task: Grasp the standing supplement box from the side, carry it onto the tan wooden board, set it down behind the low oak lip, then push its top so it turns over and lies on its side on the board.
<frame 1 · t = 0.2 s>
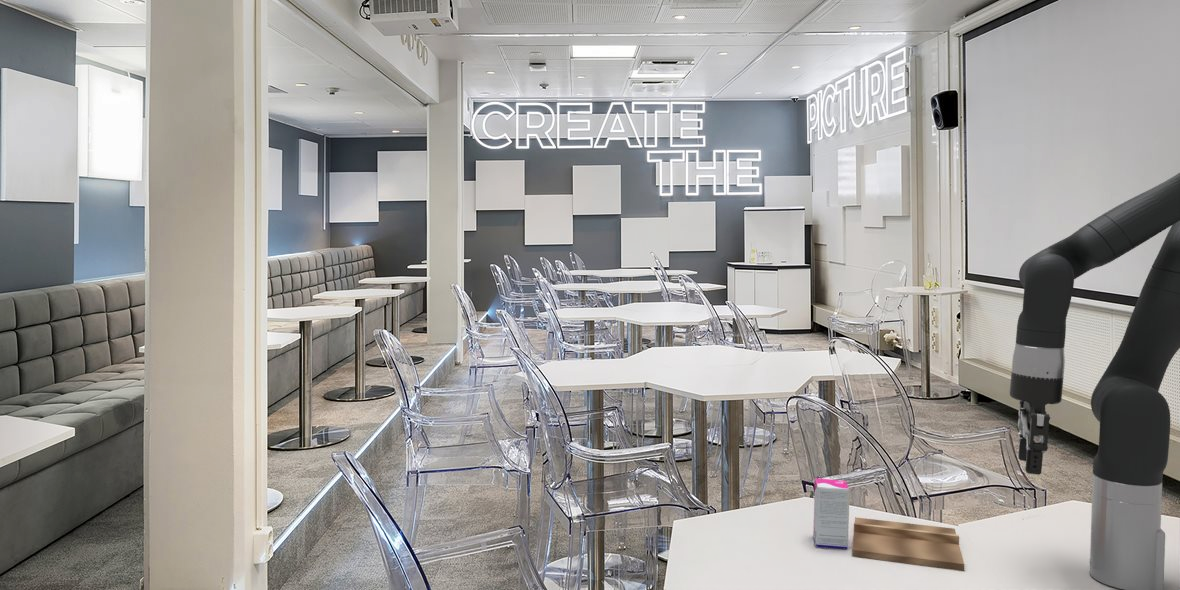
hand: (1029, 466, 125), 18 cm above the table, tool pointing down, fingers open, 8 cm apart
supplement box: (830, 544, 138), on the table
tan wooden board: (905, 545, 137), on the table
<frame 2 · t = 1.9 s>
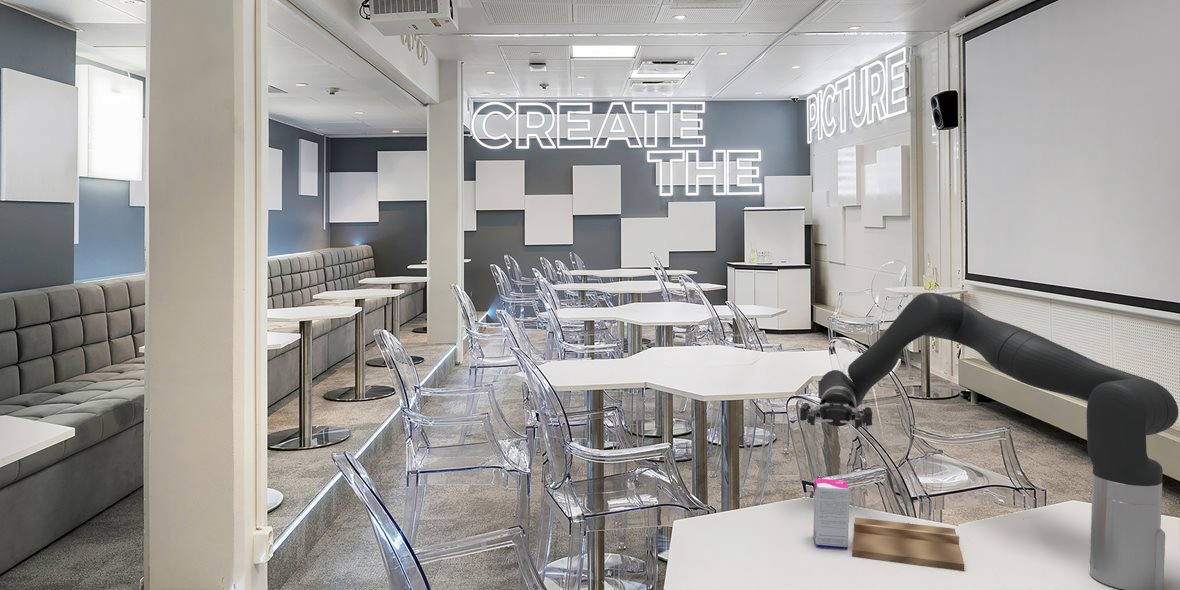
hand: (834, 422, 148), 20 cm above the table, tool horizontal, fingers open, 8 cm apart
nothing on the table moved.
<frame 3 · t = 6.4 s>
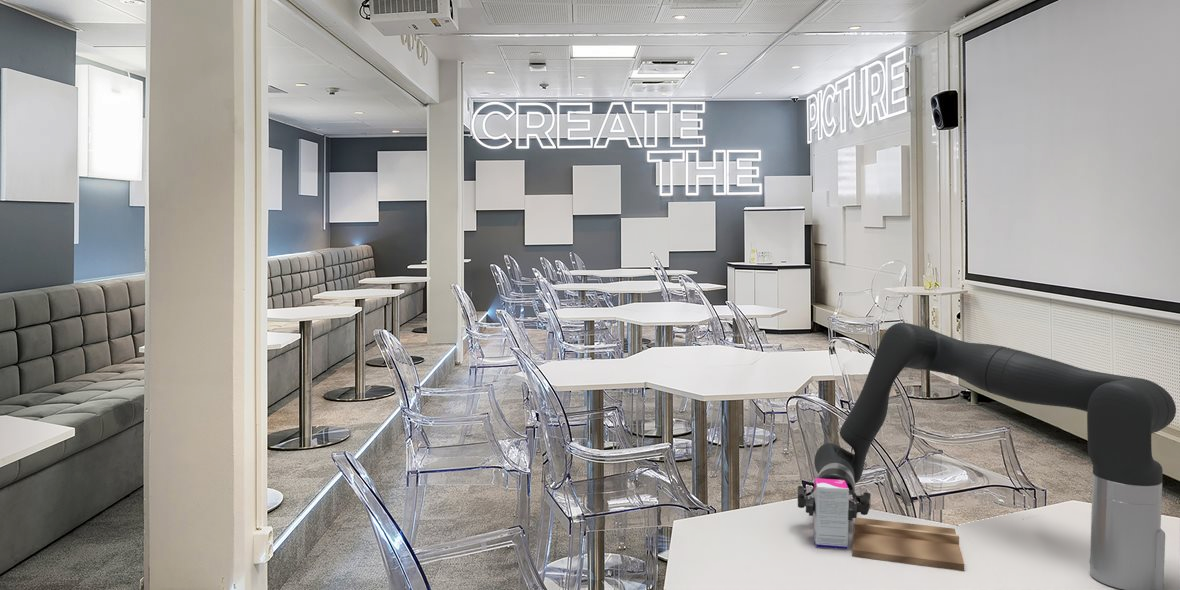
hand: (830, 512, 136), 7 cm above the table, tool horizontal, fingers closed on supplement box, 6 cm apart
supplement box: (830, 543, 138), on the table, touching gripper
when the fingers open (9 cm above the table, at t = 11.6 s): supplement box drops 1 cm, resting on tan wooden board.
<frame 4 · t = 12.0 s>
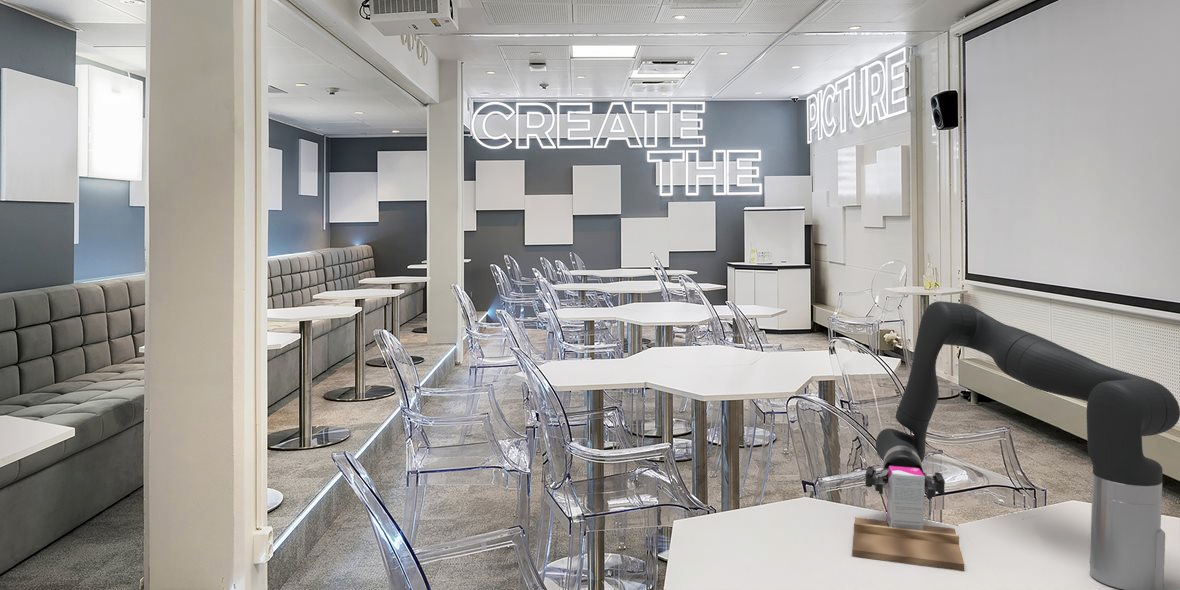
hand: (905, 491, 139), 9 cm above the table, tool horizontal, fingers open, 8 cm apart
supplement box: (904, 530, 141), point 1 cm above the table, touching tan wooden board
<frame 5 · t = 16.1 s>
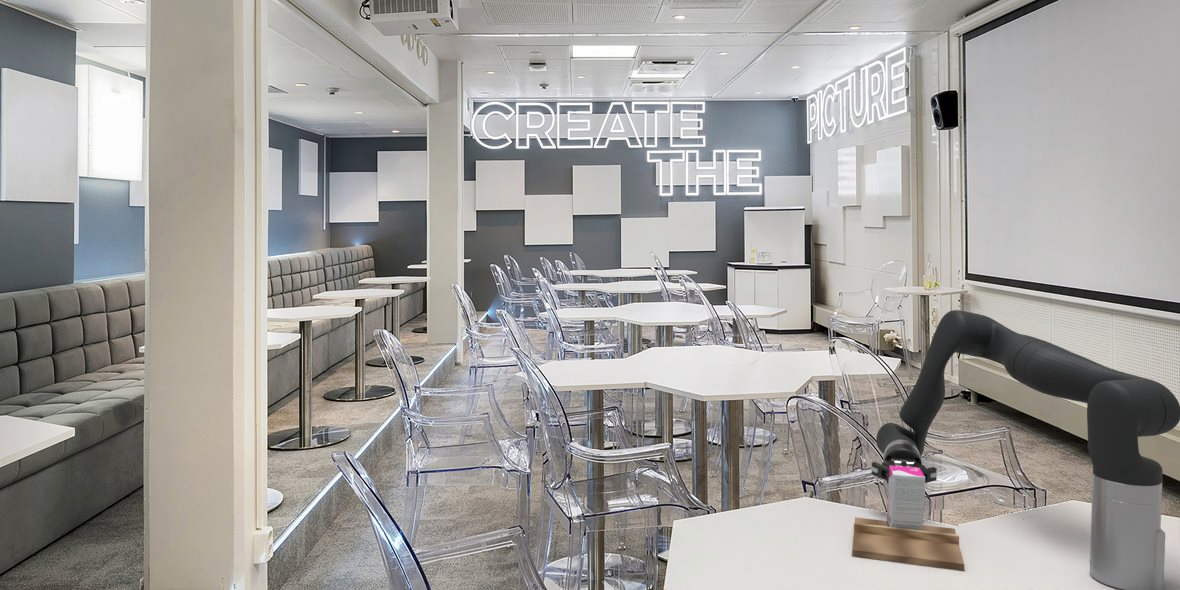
hand: (905, 483, 143), 9 cm above the table, tool horizontal, fingers closed
supplement box: (904, 529, 141), point 1 cm above the table, touching gripper, tan wooden board
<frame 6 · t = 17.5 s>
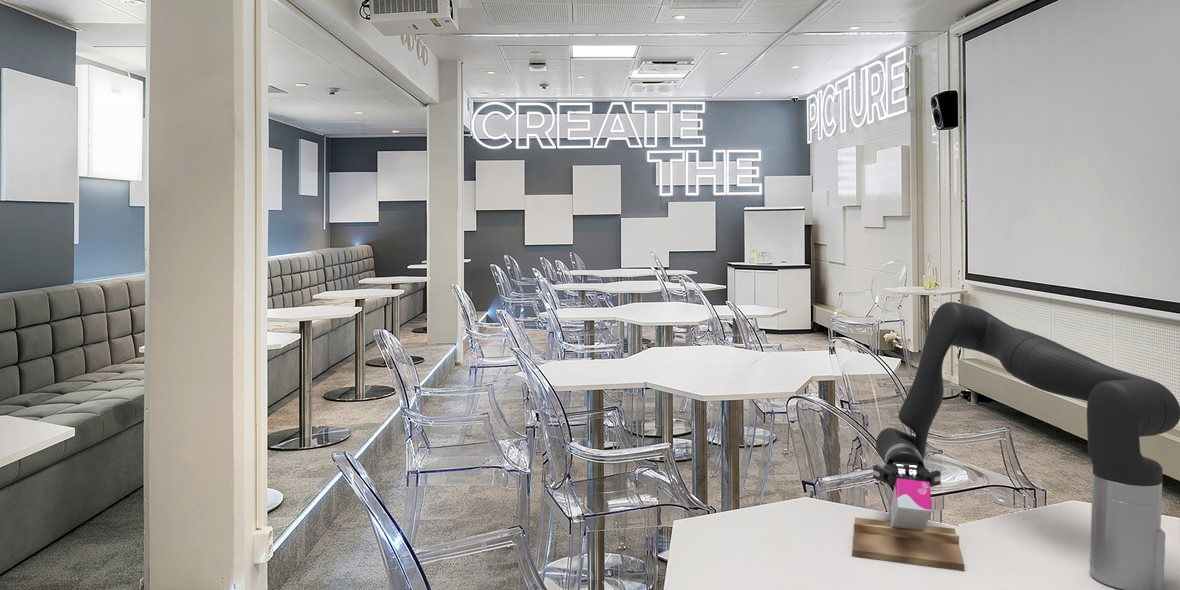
hand: (908, 486, 138), 10 cm above the table, tool horizontal, fingers closed
supplement box: (906, 517, 141), point 4 cm above the table, touching gripper, tan wooden board
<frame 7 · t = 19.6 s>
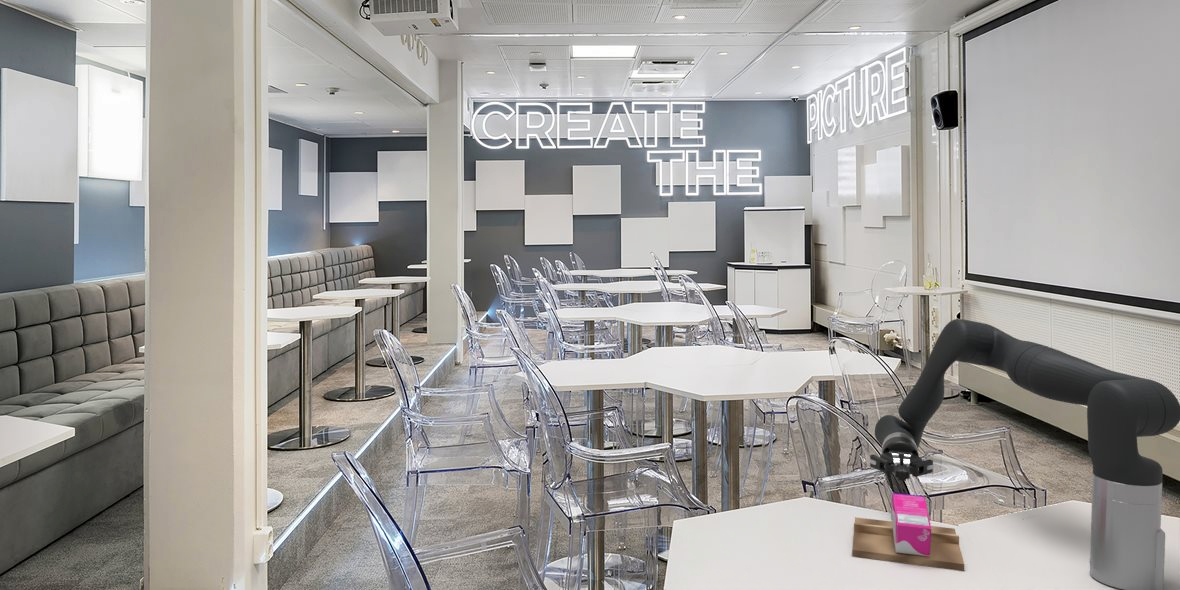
hand: (902, 475, 148), 9 cm above the table, tool horizontal, fingers closed
supplement box: (908, 506, 139), point 6 cm above the table, touching tan wooden board
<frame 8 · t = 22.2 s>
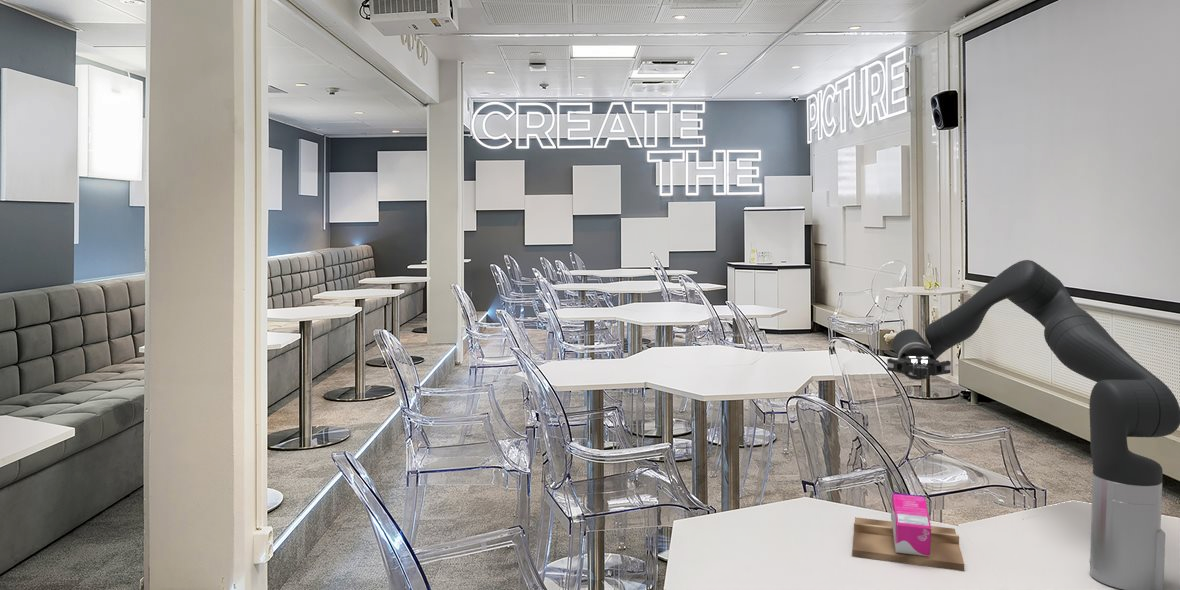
hand: (920, 372, 148), 30 cm above the table, tool horizontal, fingers closed
nothing on the table moved.
at the end: supplement box tilted 102°; supplement box inside the target area (5.8 cm from its centre), point 6.2 cm above the table; the gripper is holding nothing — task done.
